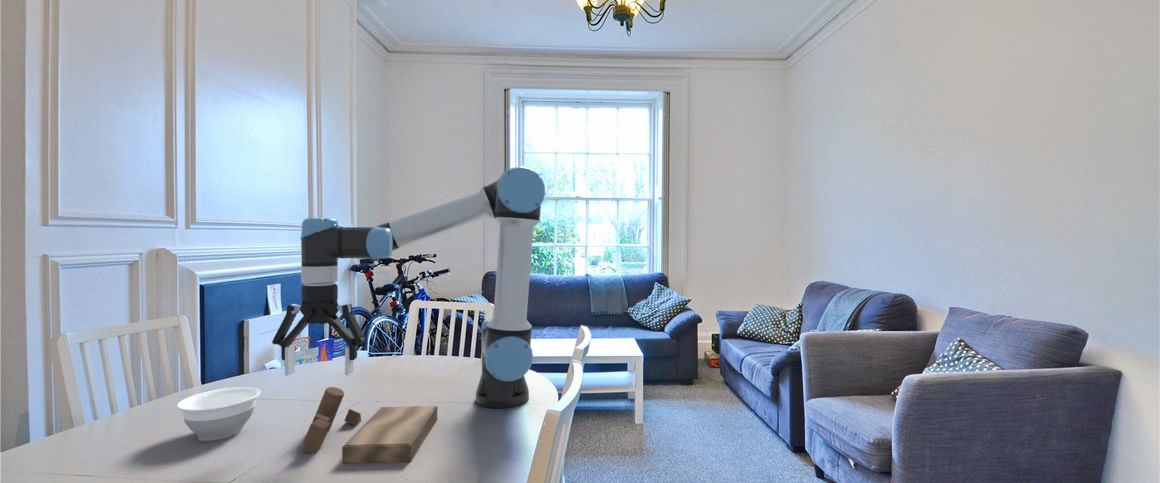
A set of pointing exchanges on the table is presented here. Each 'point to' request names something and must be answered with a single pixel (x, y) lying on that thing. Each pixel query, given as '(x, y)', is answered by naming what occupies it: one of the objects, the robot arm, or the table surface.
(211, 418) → the bowl
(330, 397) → the wooden block set
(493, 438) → the table surface
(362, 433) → the plinth
